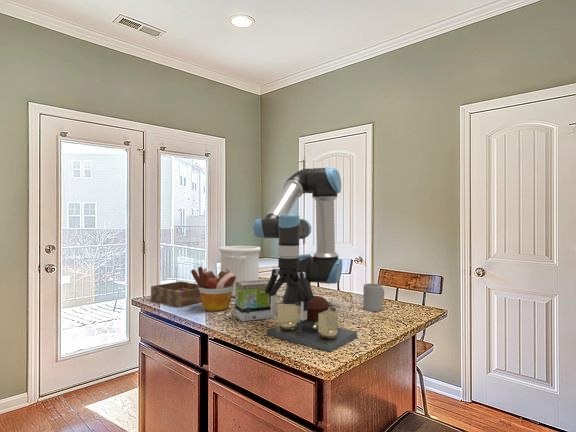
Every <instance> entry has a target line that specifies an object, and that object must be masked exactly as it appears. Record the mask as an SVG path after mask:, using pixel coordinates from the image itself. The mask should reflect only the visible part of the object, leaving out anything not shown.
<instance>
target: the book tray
mask: <svg viewBox="0 0 576 432" xmlns="http://www.w3.org/2000/svg"><path fill="white" fill-rule="evenodd" d="M179 288H181V289H182V288H187V289H192V290H187V291H181V292H180V291H175V290H176V289H179ZM150 301H152V302H156V303H161V304H164V305H168V306H171V307H172V306H173V307H175V308H180V309H181V308H183V307H185V308H186V307H189V306H193V304H194V305H197V304H202V301H201V296H200V291H199V287H198V284H197V283H192V282H189V281H188V282H187V281H182V280H181V281H174V282H169V283H168V282H167V283H162V284H157V285H151V286H150Z"/></svg>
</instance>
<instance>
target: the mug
mask: <svg viewBox="0 0 576 432" xmlns="http://www.w3.org/2000/svg"><path fill="white" fill-rule="evenodd" d="M384 298H385V289H384V288H383V284H380V283H363V299H362V300H363V301H362V302H363V303H362V304H363V310H364V311H367V312H381V311H382V310H383V301H384Z"/></svg>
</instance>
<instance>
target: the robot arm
mask: <svg viewBox="0 0 576 432" xmlns="http://www.w3.org/2000/svg"><path fill="white" fill-rule="evenodd" d="M282 188H283V189H282V190H281V192H280V194H279V195H278V197H277V198H276V199H275V202H274V203H273V204H272V206H271V207H270V209H269V211H268V212H267V214H266V215H265V217H264V218H257V219H256V220H254V222H253V225H252V229H253V234H254V236H255V237H257V238H262V239H278V247H277V248H278V249H277V250H278V257H279V258H278V261H277V262H278V268H273V269H272V270H271V276H270V278H269V279H268V280H269V282H268V285H267V287H266V290H265V293H268V294H269V303H270V304H271V314H274V313H276V314H277V304H278V294H277V295H275V294H276V292H277V293H278V291H279V289H281V287H282V285H283V284H286V287H285V291H284V294H283V297H282V304H296V303H299V305H300V319H301V320H302V321H303V320H306V319H307V311H308V310H309V301H310V300H313V299H314V296H315V295H314V294H313V291H312V287H311V285H312V284H311V283H318V284H327V285H329V284H330V285H331V284H332V285H333V284H337V283H338V282H339V281H340V279H341V276H342V272H343V271H342V270H343V260H342V258H339V254H338V252H336V246H335V245H336V243H335V242H336V239H335V238H336V237H335V236H336V235H335V233H336V231H335V228H336V227H335V226H336V225H335V200H337V198H338V194H339V193H341V192H342V179H341V176H340V173H339V170H338V169H337V168H335V167H315V168H313V167H312V168H303V169H301V170H298V171H296V172H294V173H293V174H292V175H290V177H288V178H287V179H286V180H285V182H284V184H283V187H282ZM304 194H312V198H313V200H314V201H315V224H316V226H315V228H316V230H315V231H316V235H315V236H316V238H315V239H316V240H315V241H316V251H315V253H313V257H312V255H311V254H300V240H304V239H305V238H308V237H309V236H310V235H311V233H312V226H311V223H310V222H309V221H308V220H307V219H303V218H301V219H300V215H299V214H298V213H297V214H296V213H290V212H291V211H292V208H293V207H294V205H295V203H296V201H297V200H298V199H299V198H300V197H302V195H304ZM275 283H276V284H275ZM274 284H275V285H274Z"/></svg>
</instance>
